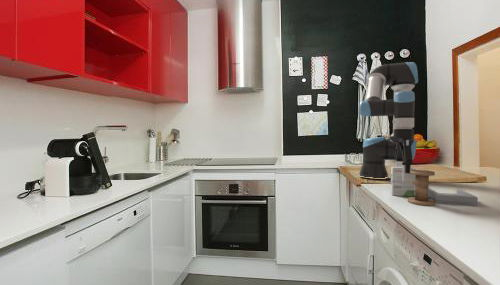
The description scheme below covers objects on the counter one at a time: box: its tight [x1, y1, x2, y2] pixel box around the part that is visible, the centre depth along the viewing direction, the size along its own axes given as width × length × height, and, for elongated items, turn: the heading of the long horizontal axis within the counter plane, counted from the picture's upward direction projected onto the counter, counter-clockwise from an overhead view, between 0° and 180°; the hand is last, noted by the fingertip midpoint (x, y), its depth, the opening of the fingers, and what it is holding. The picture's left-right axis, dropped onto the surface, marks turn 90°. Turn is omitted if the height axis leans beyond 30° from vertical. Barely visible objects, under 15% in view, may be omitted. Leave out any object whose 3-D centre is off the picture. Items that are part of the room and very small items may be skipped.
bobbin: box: [407, 169, 437, 207], centre depth 106 cm, size 9×9×12 cm
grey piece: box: [428, 187, 479, 206], centre depth 110 cm, size 14×13×3 cm
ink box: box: [390, 166, 416, 197], centre depth 118 cm, size 9×5×12 cm, turn 71°
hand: (402, 178), depth 118 cm, fingers open, 13 cm apart
